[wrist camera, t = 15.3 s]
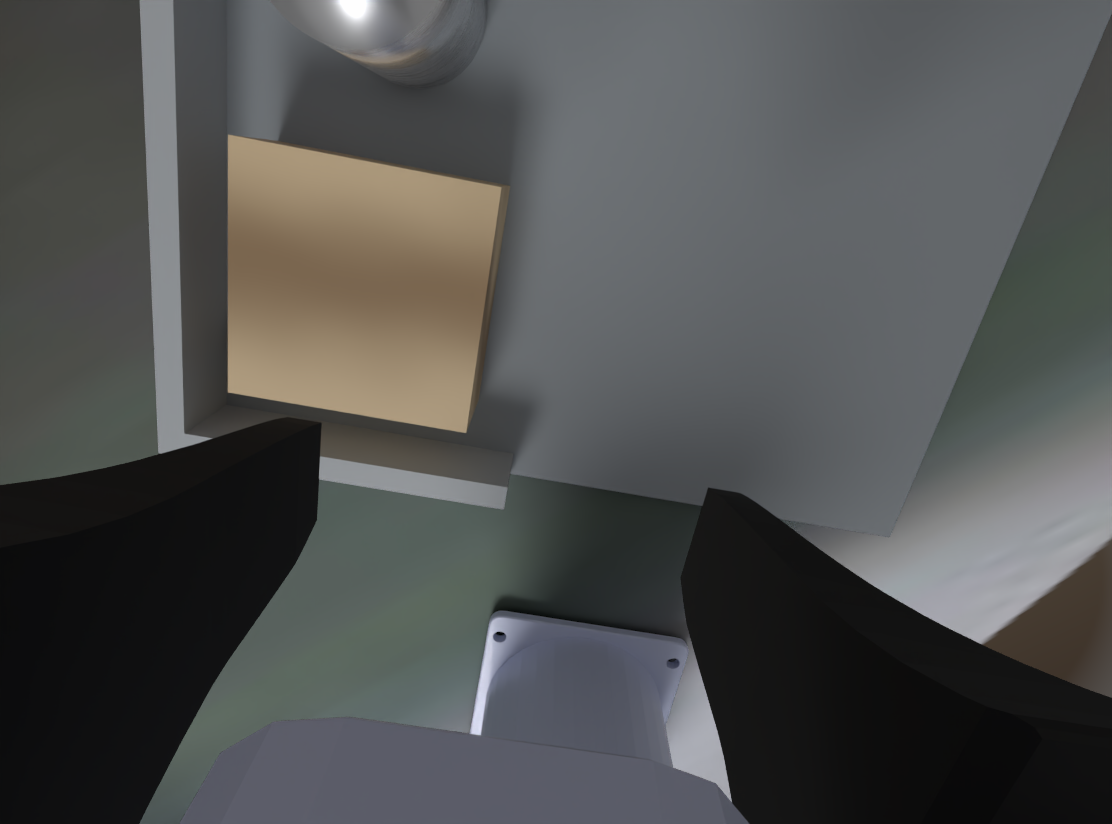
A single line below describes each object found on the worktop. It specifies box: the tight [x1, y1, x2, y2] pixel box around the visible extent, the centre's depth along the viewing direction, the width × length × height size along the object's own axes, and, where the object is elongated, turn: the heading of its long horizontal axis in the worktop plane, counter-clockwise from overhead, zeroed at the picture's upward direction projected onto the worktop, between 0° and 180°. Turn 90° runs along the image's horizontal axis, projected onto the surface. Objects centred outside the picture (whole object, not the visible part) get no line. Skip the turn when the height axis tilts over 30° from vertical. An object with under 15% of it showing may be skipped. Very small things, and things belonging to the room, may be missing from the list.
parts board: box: [140, 0, 1112, 537], centre depth 19 cm, size 18×25×3 cm
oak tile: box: [228, 135, 510, 433], centre depth 19 cm, size 7×7×3 cm
